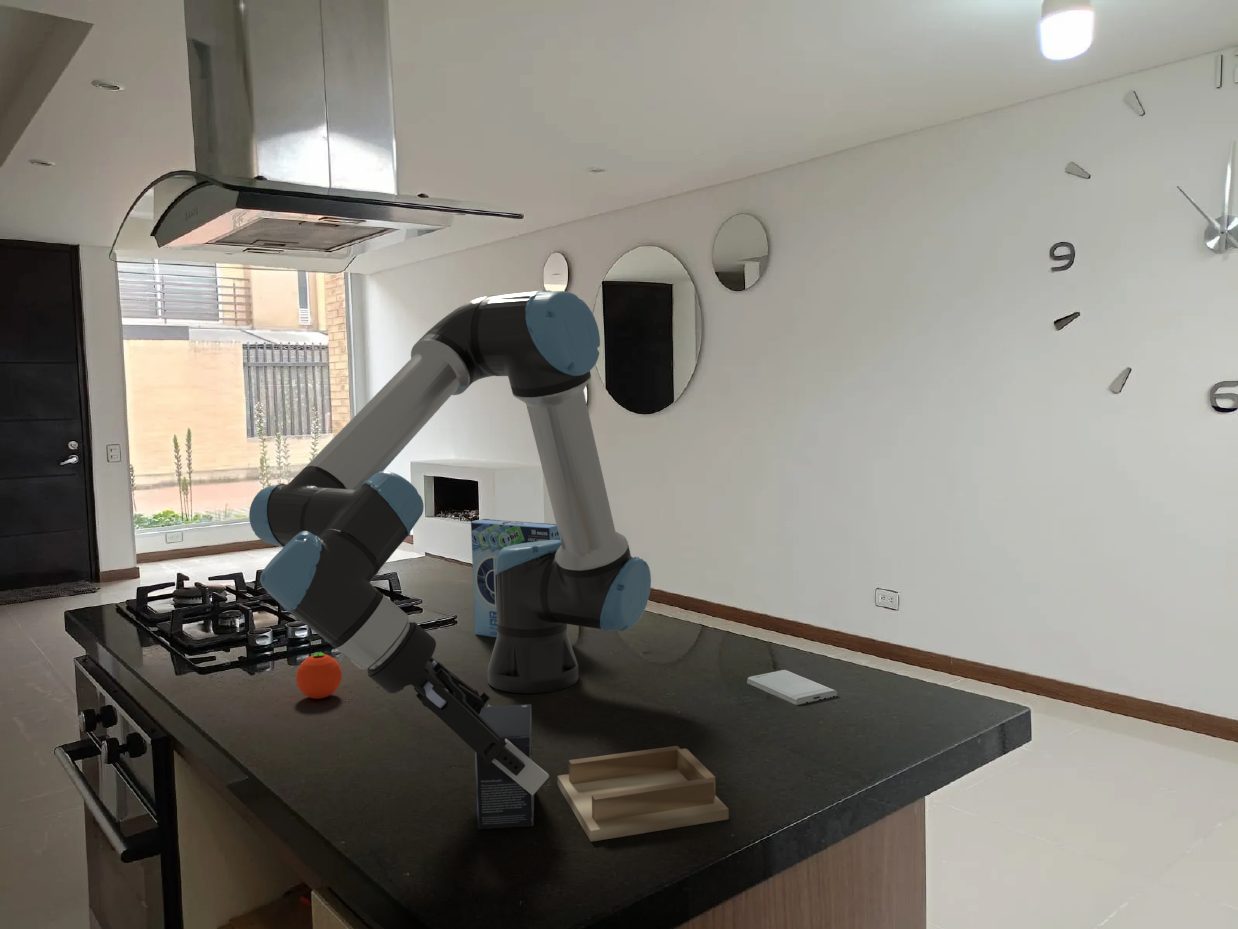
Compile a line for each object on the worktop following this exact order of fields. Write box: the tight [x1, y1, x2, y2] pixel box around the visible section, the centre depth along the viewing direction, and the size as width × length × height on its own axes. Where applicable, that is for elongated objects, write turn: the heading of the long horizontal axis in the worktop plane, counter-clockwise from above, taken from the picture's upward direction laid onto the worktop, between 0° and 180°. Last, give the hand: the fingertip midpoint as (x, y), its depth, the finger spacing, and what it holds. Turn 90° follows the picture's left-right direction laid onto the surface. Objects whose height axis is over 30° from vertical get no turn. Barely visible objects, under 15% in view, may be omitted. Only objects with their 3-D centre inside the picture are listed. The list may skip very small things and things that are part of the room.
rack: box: [557, 745, 730, 842], centre depth 108 cm, size 15×16×4 cm
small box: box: [474, 703, 535, 830], centre depth 106 cm, size 11×6×10 cm, turn 5°
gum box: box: [470, 518, 560, 639], centre depth 180 cm, size 20×5×23 cm, turn 59°
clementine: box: [295, 652, 343, 700], centre depth 147 cm, size 8×7×7 cm
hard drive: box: [746, 669, 838, 706], centre depth 148 cm, size 2×8×12 cm
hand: (529, 764), depth 107 cm, fingers closed on small box, 11 cm apart
